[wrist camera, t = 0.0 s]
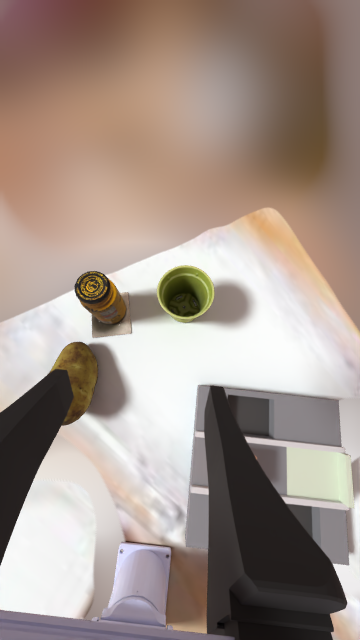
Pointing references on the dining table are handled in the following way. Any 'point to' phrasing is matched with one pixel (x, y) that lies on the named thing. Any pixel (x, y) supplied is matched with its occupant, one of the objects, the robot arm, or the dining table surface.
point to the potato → (78, 377)
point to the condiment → (104, 304)
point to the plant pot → (185, 292)
